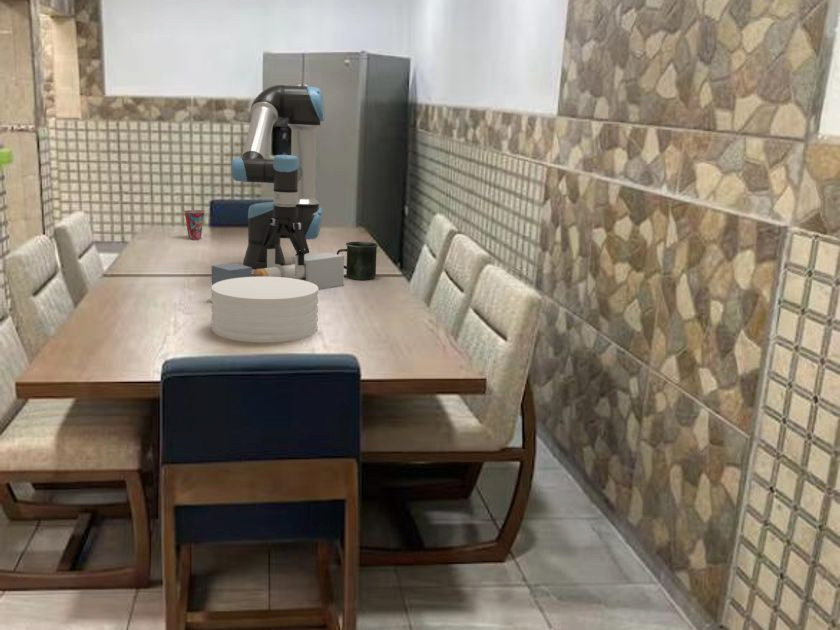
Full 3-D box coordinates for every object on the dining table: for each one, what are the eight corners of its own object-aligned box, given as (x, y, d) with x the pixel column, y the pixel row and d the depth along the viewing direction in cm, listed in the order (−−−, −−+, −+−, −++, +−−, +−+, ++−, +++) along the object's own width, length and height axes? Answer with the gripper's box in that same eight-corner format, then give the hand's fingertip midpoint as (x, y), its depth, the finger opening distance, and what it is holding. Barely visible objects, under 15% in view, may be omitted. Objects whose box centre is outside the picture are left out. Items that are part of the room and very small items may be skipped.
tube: (326, 274, 287) (327, 255, 285) (340, 277, 283) (340, 258, 281) (251, 285, 263) (251, 265, 262) (264, 289, 259) (265, 268, 257)
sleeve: (327, 281, 289) (328, 252, 286) (343, 285, 284) (344, 255, 281) (291, 287, 277) (292, 257, 274) (307, 291, 272) (308, 260, 269)
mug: (376, 281, 293) (377, 247, 290) (334, 279, 292) (335, 245, 289) (377, 275, 303) (378, 242, 300) (336, 273, 303) (337, 240, 300)
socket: (233, 296, 260) (233, 262, 258) (251, 301, 254) (251, 267, 252) (211, 299, 254) (211, 265, 252) (230, 305, 249) (229, 270, 246)
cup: (202, 241, 356) (201, 212, 353) (182, 240, 356) (181, 211, 353) (207, 237, 365) (207, 210, 362) (188, 236, 365) (187, 209, 362)
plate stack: (222, 346, 208) (222, 301, 205) (203, 318, 233) (202, 278, 230) (331, 339, 219) (331, 296, 216) (301, 313, 244) (302, 274, 241)
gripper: (250, 201, 268) (250, 267, 273) (303, 210, 252) (301, 279, 257) (269, 200, 274) (268, 265, 278) (321, 208, 258) (320, 276, 263)
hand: (284, 272), depth 268 cm, fingers open, 13 cm apart
